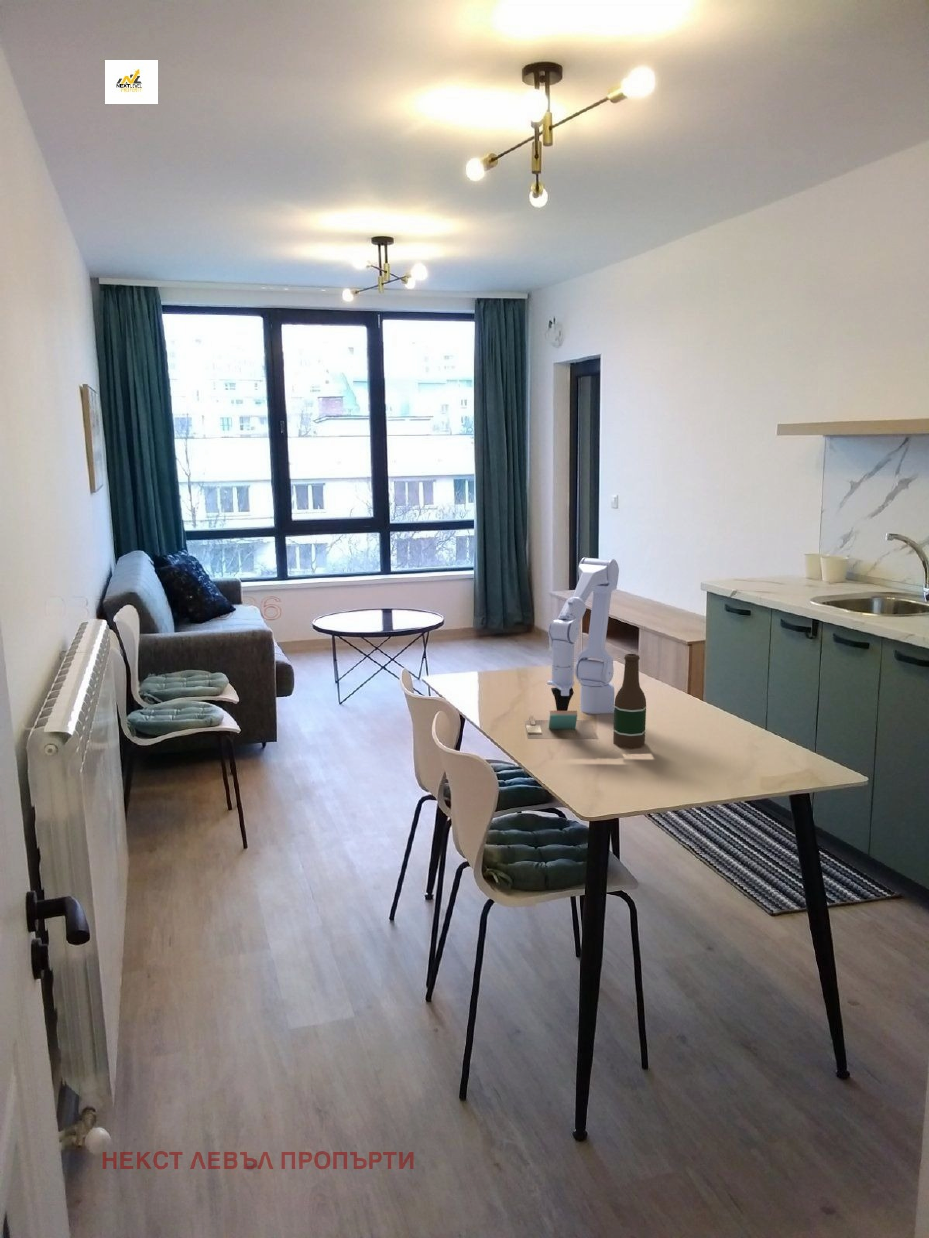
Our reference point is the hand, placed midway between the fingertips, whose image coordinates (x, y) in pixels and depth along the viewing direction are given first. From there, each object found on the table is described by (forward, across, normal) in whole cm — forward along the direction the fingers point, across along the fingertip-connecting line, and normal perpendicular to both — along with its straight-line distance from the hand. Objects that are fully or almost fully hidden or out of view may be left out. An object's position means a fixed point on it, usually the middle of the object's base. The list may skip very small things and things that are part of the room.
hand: (561, 715), depth 235 cm
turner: (+3, -1, -7) cm, 8 cm away
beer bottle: (+5, +13, +16) cm, 21 cm away
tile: (+3, 0, 0) cm, 3 cm away
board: (+5, +1, 0) cm, 5 cm away
